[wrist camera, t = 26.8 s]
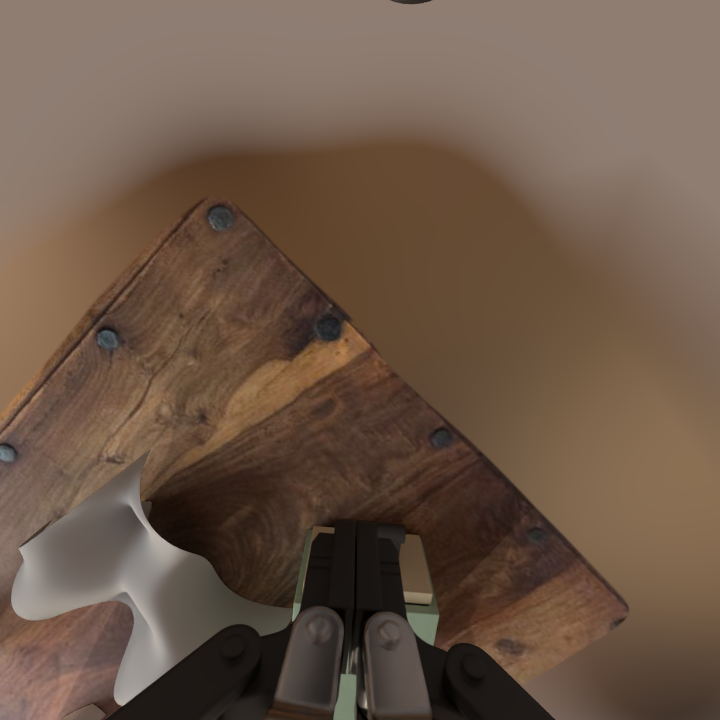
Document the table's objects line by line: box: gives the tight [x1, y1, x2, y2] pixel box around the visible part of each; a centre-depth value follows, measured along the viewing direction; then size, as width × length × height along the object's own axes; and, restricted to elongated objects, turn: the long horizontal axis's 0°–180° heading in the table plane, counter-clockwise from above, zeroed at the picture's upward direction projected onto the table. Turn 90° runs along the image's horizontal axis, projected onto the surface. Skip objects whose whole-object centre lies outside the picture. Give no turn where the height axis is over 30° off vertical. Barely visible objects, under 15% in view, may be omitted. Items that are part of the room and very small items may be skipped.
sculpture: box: [11, 449, 293, 706], centre depth 36 cm, size 25×19×10 cm
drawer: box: [302, 520, 433, 606], centre depth 36 cm, size 18×11×7 cm, turn 174°
